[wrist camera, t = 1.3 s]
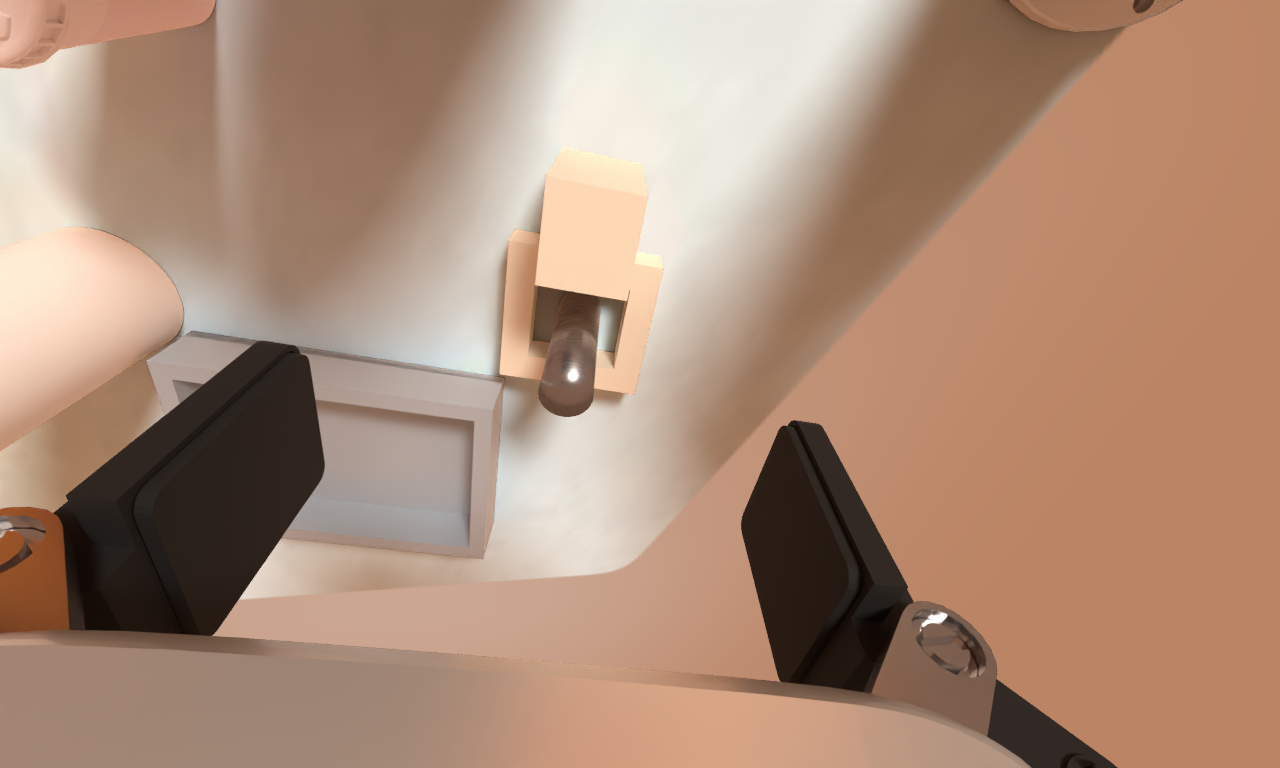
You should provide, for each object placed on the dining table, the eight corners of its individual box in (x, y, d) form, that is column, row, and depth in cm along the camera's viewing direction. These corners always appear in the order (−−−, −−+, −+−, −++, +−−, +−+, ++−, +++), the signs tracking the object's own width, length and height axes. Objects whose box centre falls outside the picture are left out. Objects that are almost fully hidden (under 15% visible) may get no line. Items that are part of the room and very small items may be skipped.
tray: (504, 377, 33) (492, 410, 30) (493, 521, 40) (483, 559, 37) (191, 330, 31) (145, 360, 28) (236, 491, 38) (204, 529, 35)
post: (603, 294, 30) (597, 376, 23) (596, 330, 32) (588, 420, 24) (561, 286, 30) (541, 367, 22) (556, 324, 31) (535, 412, 24)
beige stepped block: (680, 171, 27) (697, 206, 21) (633, 377, 33) (636, 447, 28) (522, 138, 26) (492, 165, 20) (505, 357, 32) (479, 426, 26)
